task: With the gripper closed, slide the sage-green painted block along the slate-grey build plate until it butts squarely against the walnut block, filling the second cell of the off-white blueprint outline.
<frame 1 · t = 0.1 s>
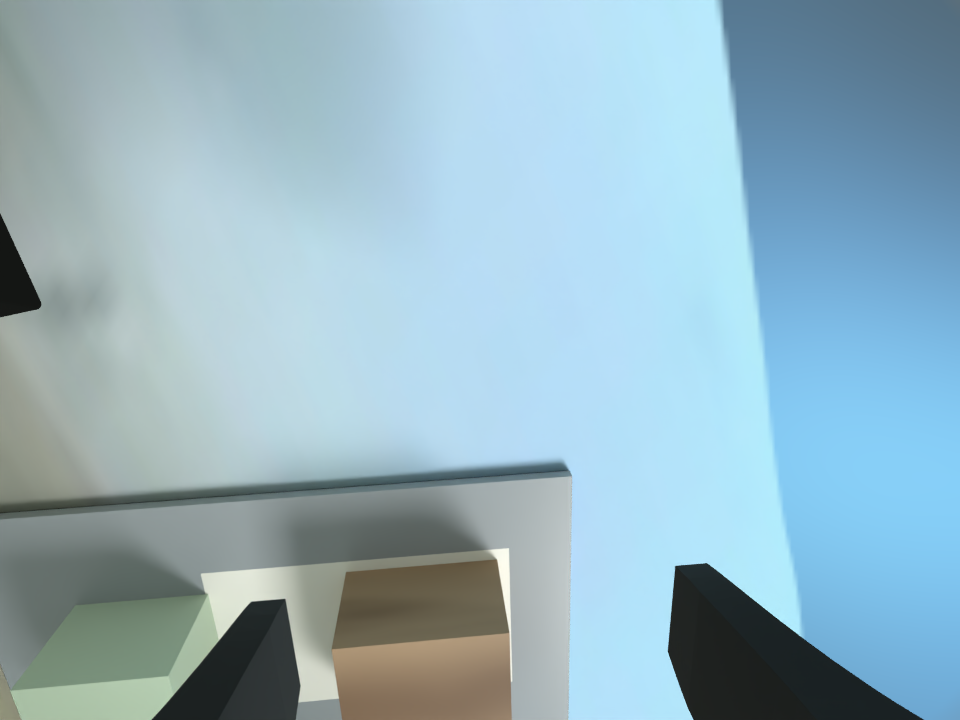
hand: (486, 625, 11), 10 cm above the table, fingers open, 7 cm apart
build plate: (295, 629, 23), on the table
walnut block: (427, 625, 23), resting on build plate
green block: (156, 650, 23), resting on build plate
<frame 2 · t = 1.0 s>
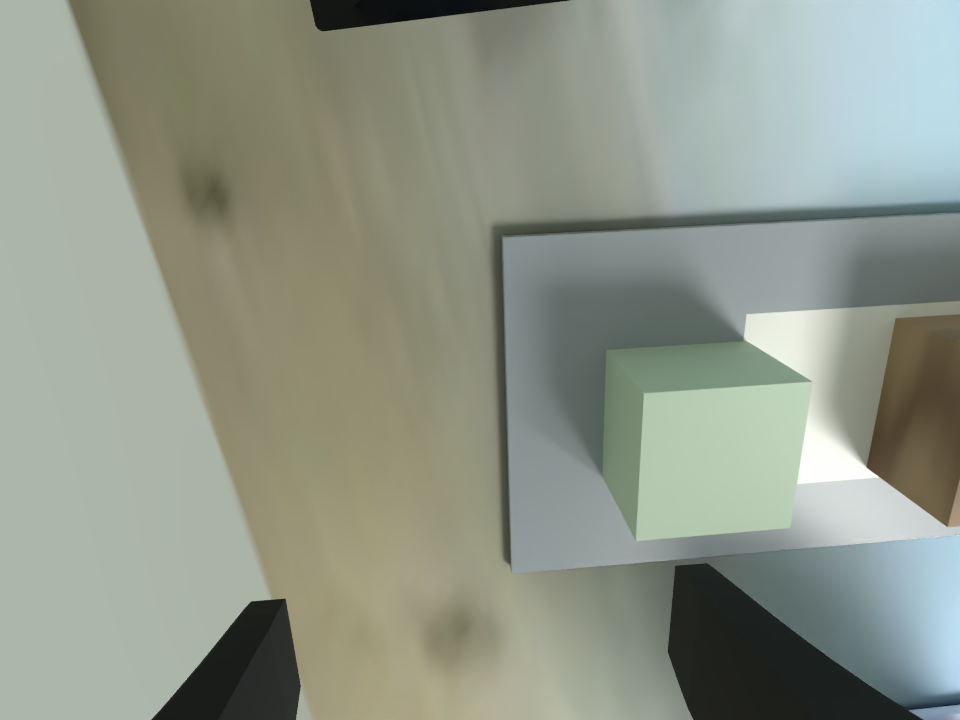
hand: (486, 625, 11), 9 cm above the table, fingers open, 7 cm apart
build plate: (809, 396, 21), on the table
walnut block: (956, 390, 21), resting on build plate
green block: (672, 411, 20), resting on build plate
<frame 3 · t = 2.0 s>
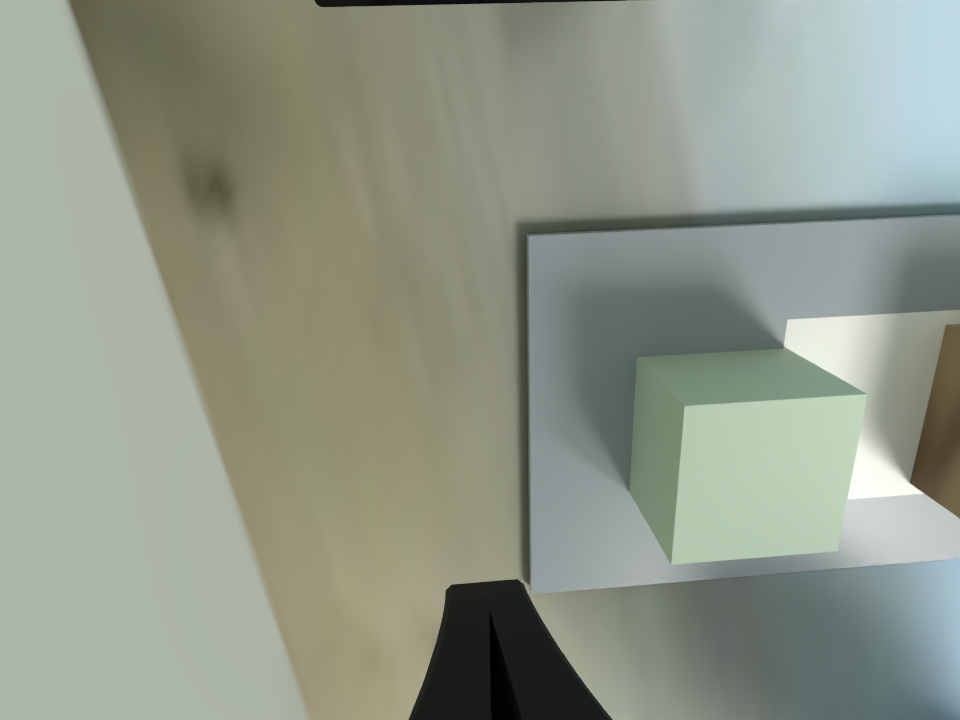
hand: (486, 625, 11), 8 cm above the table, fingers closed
build plate: (851, 407, 20), on the table
green block: (705, 422, 19), resting on build plate
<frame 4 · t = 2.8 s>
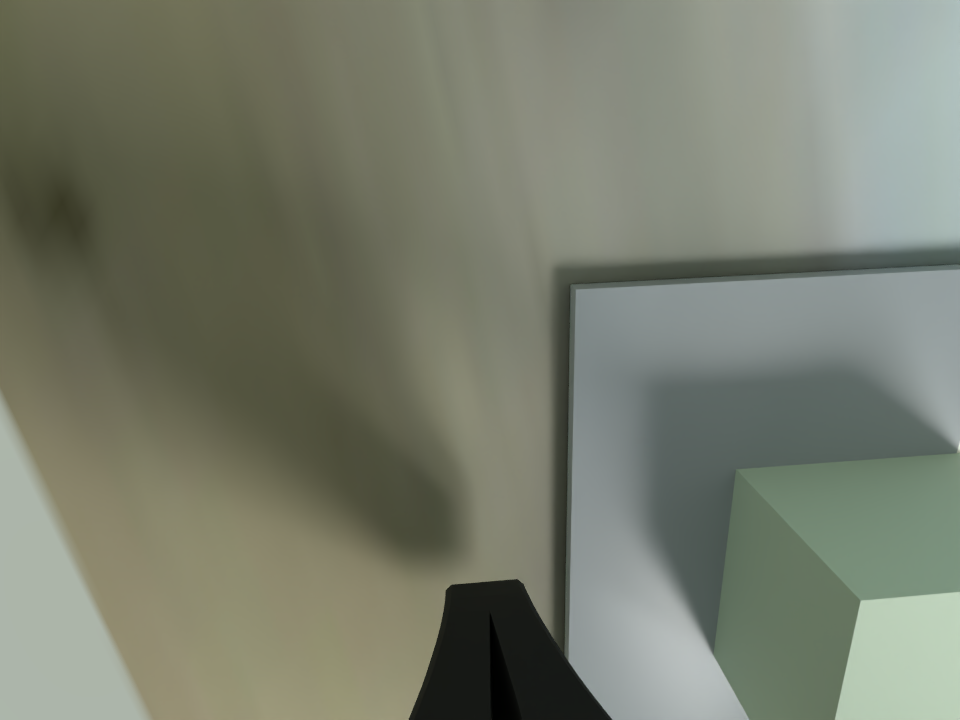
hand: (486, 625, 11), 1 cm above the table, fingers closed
green block: (831, 559, 13), resting on build plate
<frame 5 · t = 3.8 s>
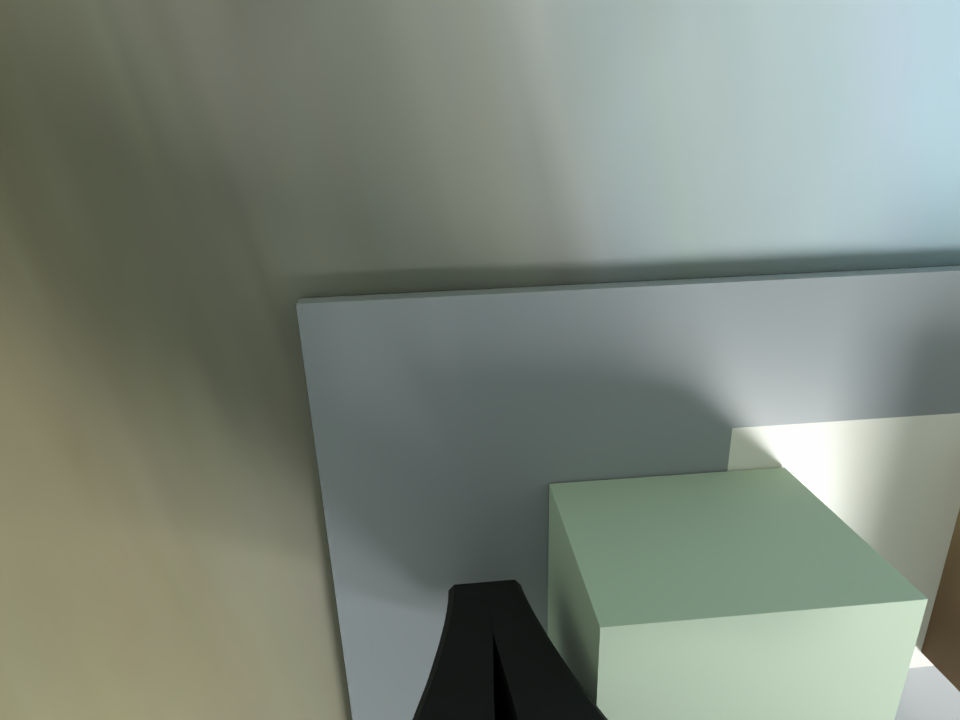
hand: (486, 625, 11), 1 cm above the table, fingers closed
build plate: (834, 546, 13), on the table
green block: (659, 574, 12), resting on build plate, touching gripper
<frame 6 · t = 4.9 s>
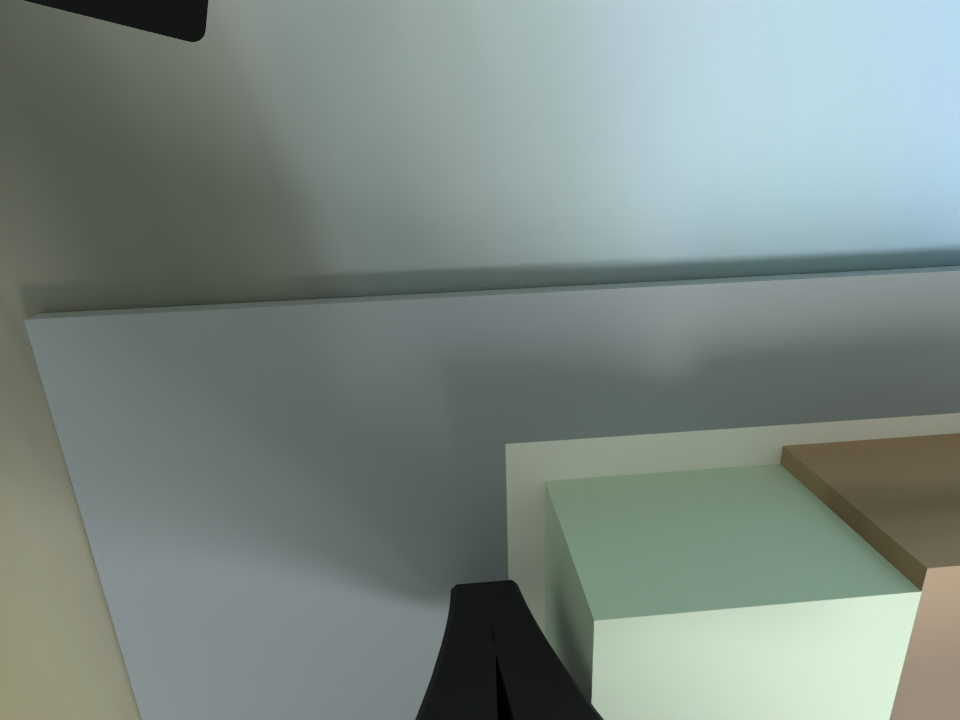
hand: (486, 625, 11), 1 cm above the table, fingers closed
build plate: (638, 562, 13), on the table
walnut block: (892, 554, 13), resting on build plate, touching green block
green block: (656, 571, 12), resting on build plate, touching gripper, walnut block
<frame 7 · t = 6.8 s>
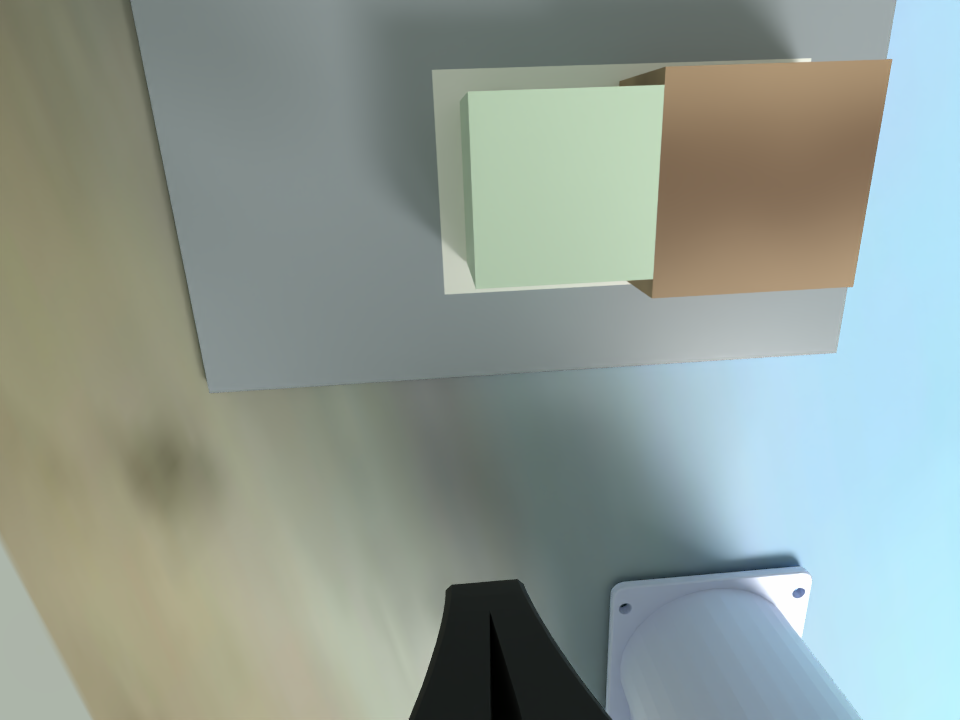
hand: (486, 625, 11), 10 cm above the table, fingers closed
build plate: (530, 183, 19), on the table
walnut block: (704, 177, 19), resting on build plate
green block: (540, 182, 18), resting on build plate
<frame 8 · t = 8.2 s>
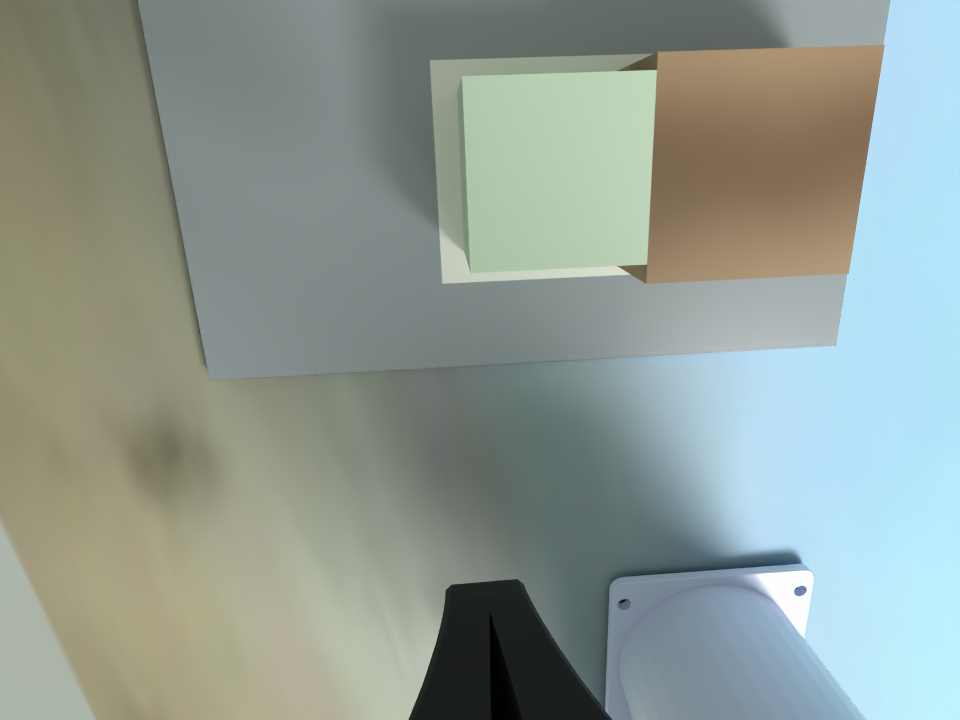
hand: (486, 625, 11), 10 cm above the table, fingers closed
build plate: (527, 174, 19), on the table
walnut block: (700, 167, 19), resting on build plate
green block: (537, 171, 18), resting on build plate
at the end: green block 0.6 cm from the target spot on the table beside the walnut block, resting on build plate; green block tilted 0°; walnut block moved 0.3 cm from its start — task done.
